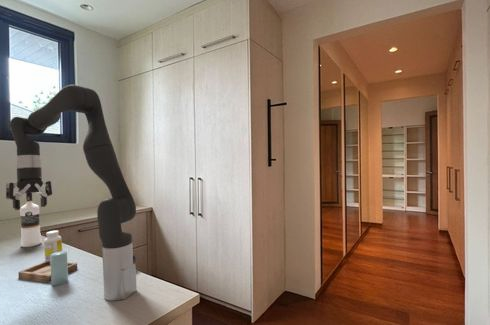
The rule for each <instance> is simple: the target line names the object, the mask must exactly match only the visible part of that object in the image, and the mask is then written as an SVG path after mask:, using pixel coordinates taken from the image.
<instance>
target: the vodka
mask: <svg viewBox="0 0 490 325" xmlns="http://www.w3.org/2000/svg"><path fill="white" fill-rule="evenodd" d="M25 196H26V197H25V199H26V200H25V201H26V203H25V204H23V205H22V206H20V210H19V213H20V214H19V216H20V232H21V234H20V238H21V239H20V243H19V245H20V247H21V248H32V247H35V246H38V245H41V244H42V242H43V239H42V235H41V225H40V222H41V221H40V205H38V204H36V203H34V202H33V193H25Z"/></svg>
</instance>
